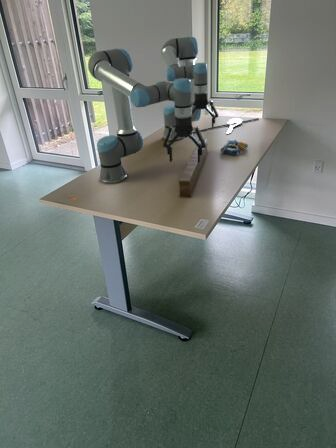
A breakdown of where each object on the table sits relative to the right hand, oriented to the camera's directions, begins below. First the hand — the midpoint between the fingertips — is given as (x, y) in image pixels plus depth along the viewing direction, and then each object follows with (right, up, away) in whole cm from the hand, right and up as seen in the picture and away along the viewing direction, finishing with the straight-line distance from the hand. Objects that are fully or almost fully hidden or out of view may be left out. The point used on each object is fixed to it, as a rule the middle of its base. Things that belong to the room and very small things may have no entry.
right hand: (201, 128), depth 205 cm
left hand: (-12, -28, -44) cm, 54 cm away
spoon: (+30, +17, +55) cm, 65 cm away
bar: (-5, -28, -14) cm, 32 cm away
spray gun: (+22, -11, +10) cm, 27 cm away
